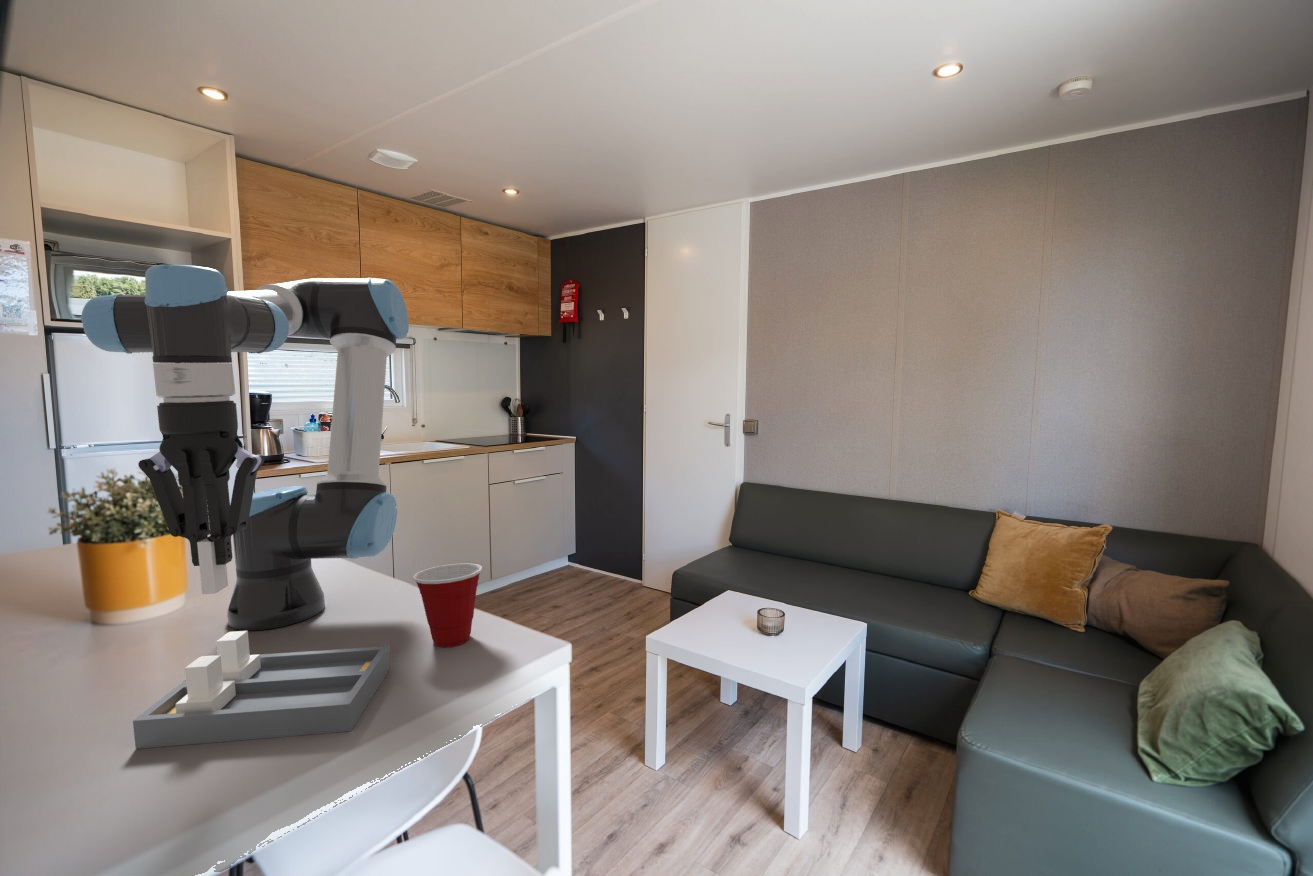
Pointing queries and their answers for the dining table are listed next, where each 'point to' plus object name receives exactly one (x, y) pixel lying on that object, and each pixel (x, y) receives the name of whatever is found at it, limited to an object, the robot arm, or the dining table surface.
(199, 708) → the tab
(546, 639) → the dining table surface
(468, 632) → the plastic cup
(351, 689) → the grey divided tray
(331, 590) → the dining table surface
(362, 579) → the dining table surface
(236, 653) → the tab
